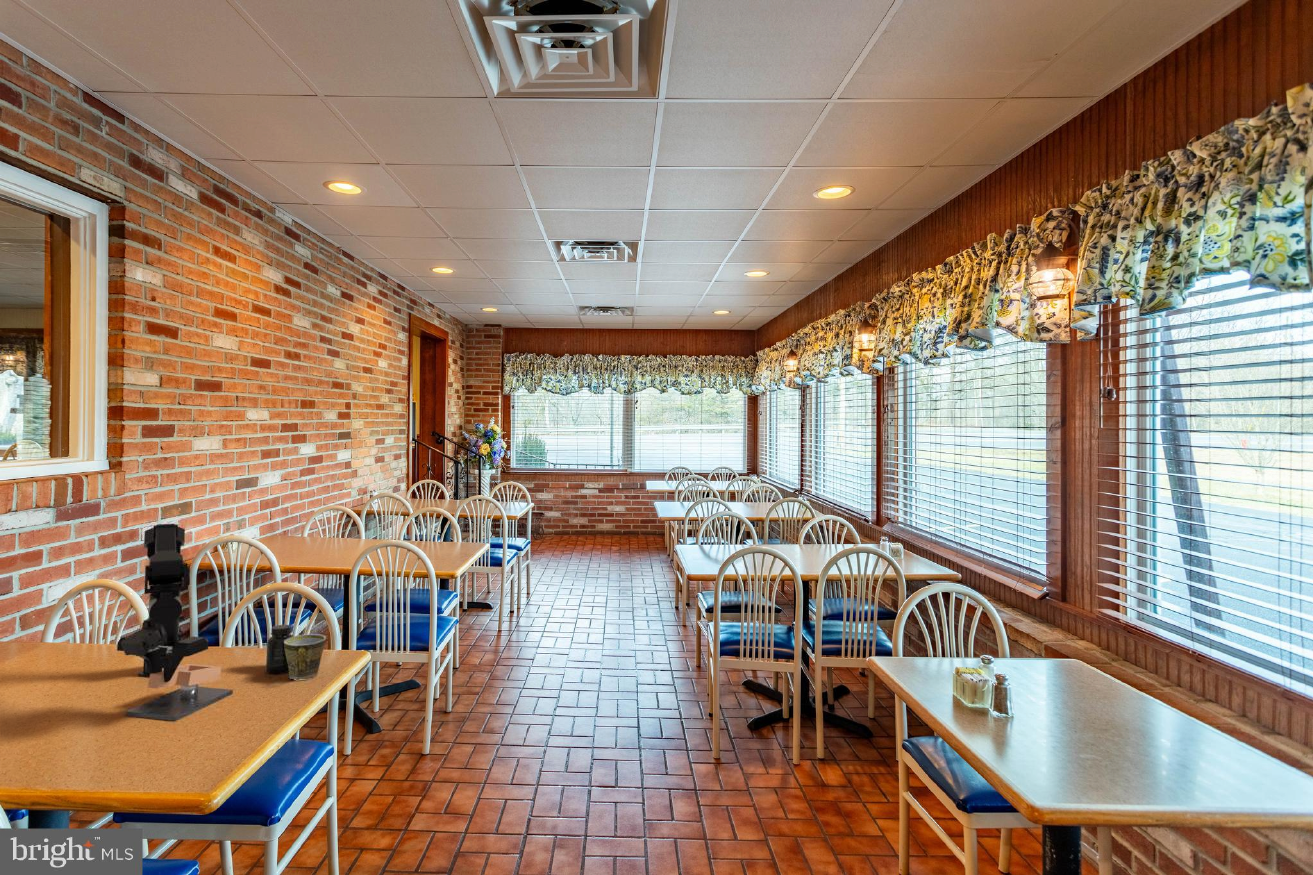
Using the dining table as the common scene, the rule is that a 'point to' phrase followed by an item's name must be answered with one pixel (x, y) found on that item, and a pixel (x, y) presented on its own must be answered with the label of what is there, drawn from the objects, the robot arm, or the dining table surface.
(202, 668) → the square ring with tab
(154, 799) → the dining table surface
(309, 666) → the ceramic cup
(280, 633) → the supplement bottle
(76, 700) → the dining table surface
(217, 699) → the base with metal peg
